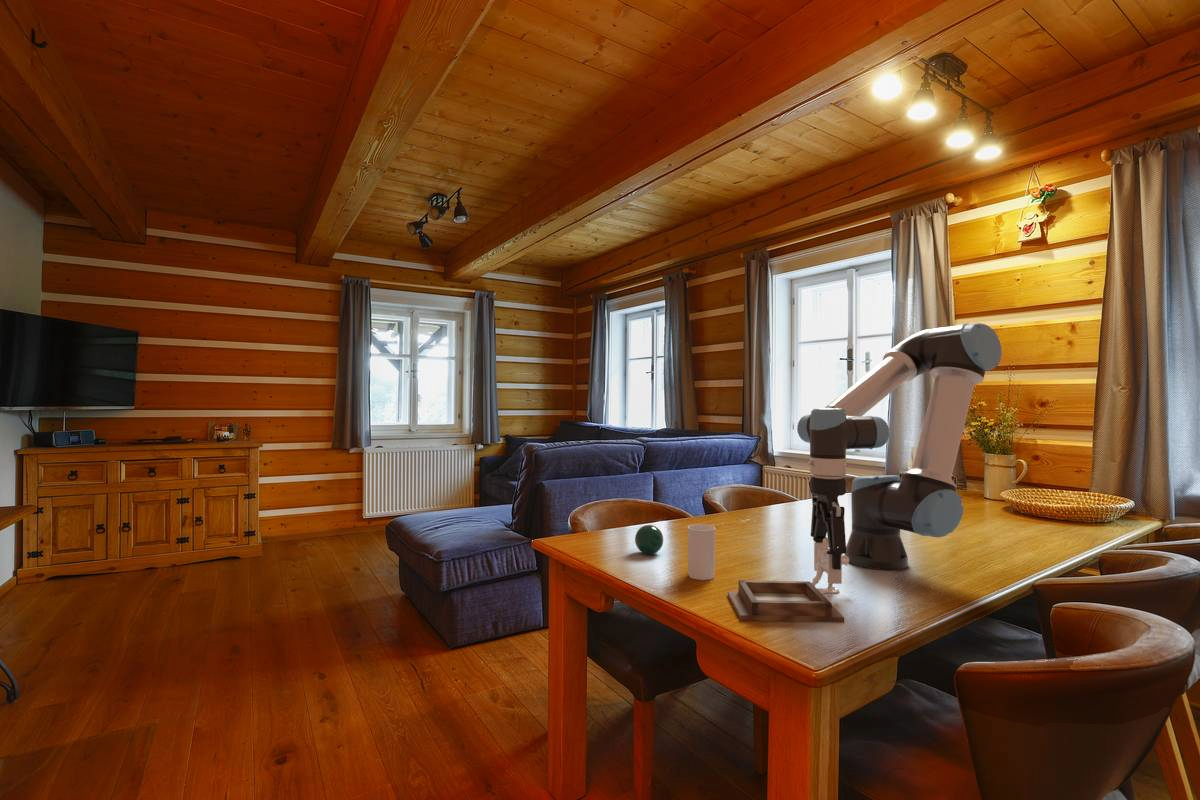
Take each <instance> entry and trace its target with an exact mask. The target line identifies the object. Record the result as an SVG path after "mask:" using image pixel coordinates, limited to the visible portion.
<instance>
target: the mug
mask: <svg viewBox="0 0 1200 800" xmlns="http://www.w3.org/2000/svg"><path fill="white" fill-rule="evenodd" d="M715 561H716V527H715V526H713V525H710V524H701V523H700V524H690V525H688V526H687V568H688V569H687V572H688V577H689V578H691V579H694V580H696V581H710V580H712V579H714V578H715V566H716V565H715V564H716V562H715Z"/></svg>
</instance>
